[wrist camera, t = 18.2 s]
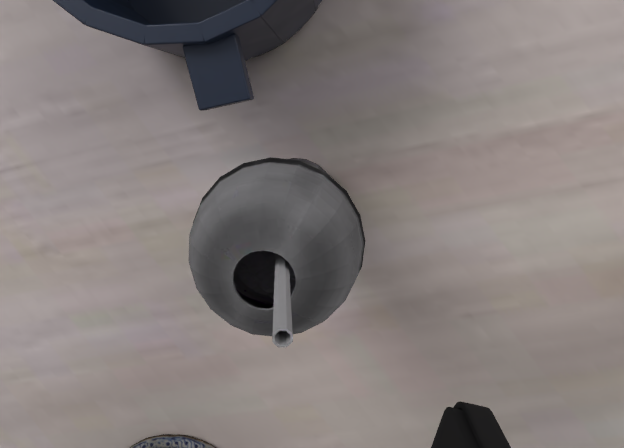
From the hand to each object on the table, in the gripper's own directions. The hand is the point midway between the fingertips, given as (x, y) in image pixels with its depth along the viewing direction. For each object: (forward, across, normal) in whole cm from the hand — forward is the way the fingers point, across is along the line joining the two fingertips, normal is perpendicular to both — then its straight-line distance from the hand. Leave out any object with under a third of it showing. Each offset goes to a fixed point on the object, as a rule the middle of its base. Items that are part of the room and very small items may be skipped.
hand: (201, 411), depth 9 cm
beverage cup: (+22, 0, 0) cm, 22 cm away
